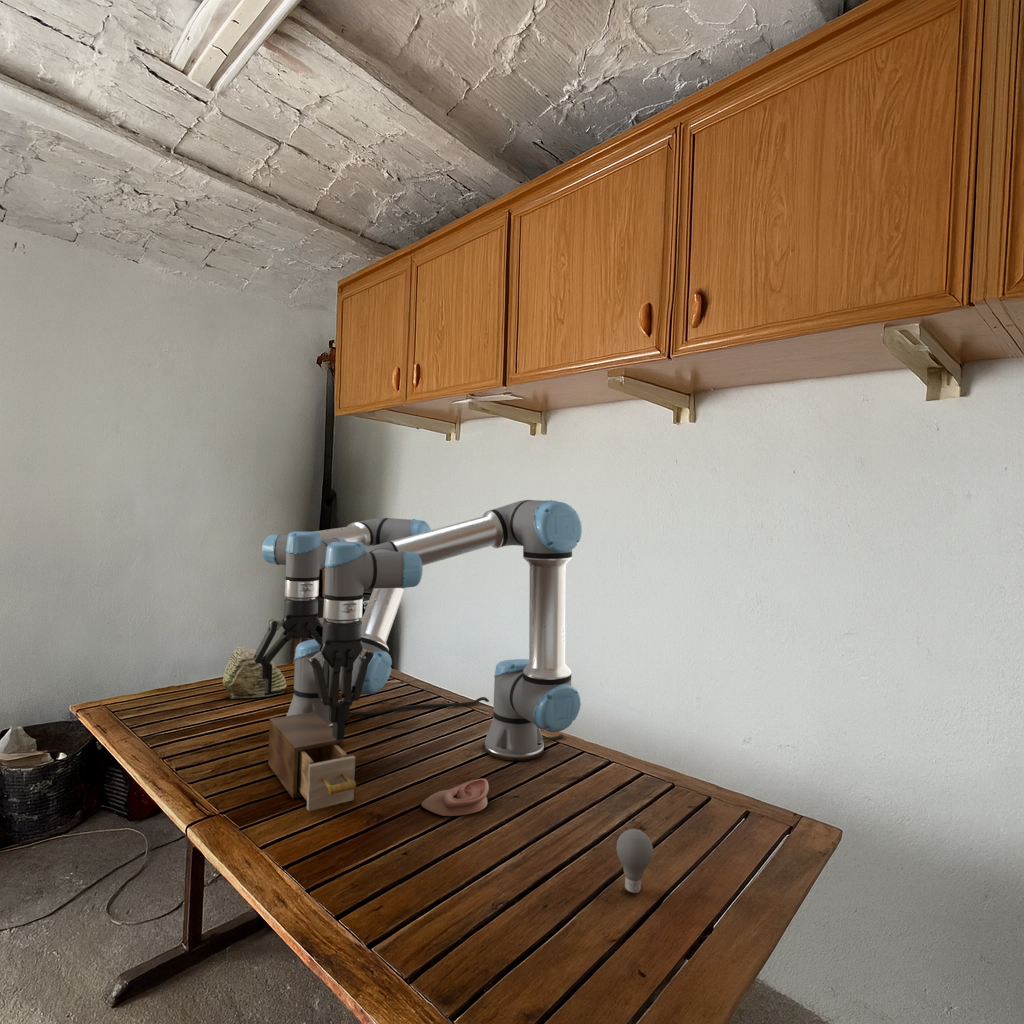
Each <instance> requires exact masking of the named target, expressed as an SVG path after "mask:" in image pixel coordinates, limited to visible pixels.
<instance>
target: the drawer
mask: <svg viewBox="0 0 1024 1024" xmlns="http://www.w3.org/2000/svg"><path fill="white" fill-rule="evenodd" d="M355 775H356V756H354V755H349V756H348V754H347V752H346V751H345V750H344V749H343V750H342V749H341V748H340V747H339V746H338V745H337V744H333V745H327V746H322V747H317V748H312V749H306V750H301V751H298V775H297V789H298V790H299V792H300V793H301V794H302V797H303V799H304V800H305V801H306V810H307V811H308V812H311V811H314V810H319V809H323V808H327V807H330V806H335V805H339V804H342V803H347V802H351V801H354V800H355V798H354V797H355V789H356V788H357V782H356V780H355Z"/></svg>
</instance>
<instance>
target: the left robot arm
mask: <svg viewBox="0 0 1024 1024" xmlns="http://www.w3.org/2000/svg"><path fill="white" fill-rule="evenodd" d="M430 530H432V528H431V527H430V525H429V524H428V522H426V521H425V520H420V519H416V518H412V519H409V518H408V519H407V518H390V517H377V518H371V519H365V520H360V521H354V522H351V523H349V524H347V526H343V527H337V528H329V529H323V530H316V531H290V532H289V533H288V534H280V533H279V534H270V535H268V536H267V537H266V538H264V541H263V543H262V546H261V555H262V558H263V560H264V561H265V562H266V563H269V564H271V565H272V564H274V565H277V566H280V565H281V566H282V565H283V566H285V578H284V579H285V580H284V597H286V598H285V599H284V601H283V602H284V603H283V605H284V606H283V619H282V620H274V619H273V618H272V619H270V620H269V622H268V626H267V630H266V632H265V634H264V636H263V638H262V640H261V642H260V643H259V645H258V649H257V648H256V649H257V651H256V653H255V655H254V656H253V660H254V661H255V662H256V663H260V664H261V677H262V678H263V679H265V692H266V693H267V694H271V689H272V664H271V663H270V662H271V660H273V659H274V658H275V657H276V656H277V655H278V653H279V652H280V651H281V650H282V649H283V648H284V646H285V645H287V643H288V642H289V641H290V640H291V639H294V640H297V639H307V640H304V641H302V642H299V643H298V644H297V645H296V647H295V652H294V653H295V654H294V658H293V660H294V670H293V671H294V672H293V695H292V696H293V697H292V699H291V702H290V704H289V708H288V711H287V713H286V715H285V716H290V715H297V714H303V713H309V712H315V713H316V714H317V715H319V716H320V717H321V718H322V719H323V720H324V721H325V722H326V723H327V724H328V725H329V726H330V727H331V728H333V723H331V722H330V721H329V719H328V716H329V706H328V705H324V704H323V703H322V702H320V700H319V695H318V691H317V686H316V681H315V676H314V672H313V667H312V666H311V664H310V663H309V661H308V657H309V656H314V655H315V654H317V653H318V652H319V651H320V647H321V645H322V635H320V633H319V632H318V631H317V630H316V629H317V627H318V626H319V625H321V626H322V627H323V622H324V621H325V620H326V619H325V618H324V617H323V616H322V617H319V616H318V615H319V599H318V598H317V597H319V589H320V571H323V570H324V571H325V560H326V550H327V546H328V545H329V544H330V543H331V542H337V541H348V542H361V543H363V544H364V545H378V544H382V543H386V542H390V541H393V540H397V539H401V538H404V537H408V536H412V535H415V534H419V533H423V532H427V531H430ZM405 591H406V588H404V589H402V588H372V591H371V594H370V596H369V600H368V601H367V602H368V603H367V605H366V607H365V610H364V613H363V614H362V617H361V619H360V620H361V622H362V636H361V642H362V644H363V648H364V649H365V650H368V651H370V652H372V653H373V658H372V659H371V661H370V662H369V664H368V668H367V671H366V675H365V679H364V683H363V687H362V691H361V694H360V695H375V694H376V693H378V692H380V691H381V690H382V689H383V688H384V687H385V685H386V684H387V682H388V680H389V678H390V675H391V673H392V667H391V666H392V665H393V660H392V658H391V654H389V653H390V649H389V646H388V644H387V641H388V638H389V636H390V632H391V630H392V627H393V624H394V623H395V622H394V621H395V618H396V616H397V613H398V610H399V609H400V608H399V607H400V604H401V602H402V599H403V596H404V593H405ZM281 627H282V628H283V629H284V630H283V632H282V633H281V634H280V636H279V638H278V639H277V640H276V641H275V642H273V644H272V645H271V643H272V641H273V639H274V637H275V635H276V633H277V631H279V630H280V628H281ZM309 637H312V639H308V638H309ZM270 645H271V647H270ZM269 647H270V648H269ZM268 648H269V649H268ZM265 653H266V654H265ZM264 654H265V655H264ZM359 655H360V654H359ZM359 659H360V658H359V656H358V657H357V659H356V660H355V661H354V663H353V671H352V683H353V679H354V676H355V672H356V668H357V664H358V661H359ZM322 661H323V663H322V664H321V666H322V668H323V672H324V677H325V682H326V687H327V692H328V693H329V664H328V663H327V661H326V660H325V659H324V657H323V658H322ZM341 681H342V668H341V671H340V675H339V691H341ZM473 701H474V702H473ZM481 701H484V702H486V703H489V702H490V700H489V698H488V697H486V696H481V697H479V698H477V699H474V700H472V701H464V702H463V701H462V702H447V703H425V704H424V703H423V704H411V705H409V704H408V705H400V706H394V707H388V708H385V709H384V708H383V709H379V710H374V711H350V712H349V713H350V714H349V716H377V715H381V714H384V713H389V712H394V711H401V710H409V709H422V708H423V709H424V708H447V707H448V708H449V707H461V706H462V707H464V706H473V705H476V704H478V703H480V702H481ZM340 702H341V701H340V699H338V703H340Z"/></svg>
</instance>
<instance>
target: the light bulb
mask: <svg viewBox="0 0 1024 1024" xmlns="http://www.w3.org/2000/svg"><path fill="white" fill-rule="evenodd" d="M615 849H616V854H617V857H618V859H619V861H620V863H621V865H622V867H623V873H624V874H623V875H624V876H625V878H624V888H625V890H627V891H628V892H630V893H634V894H635V893H639V892H640V891H641V889H642V887H641V886H642V879H643V877H644V875H645V871H646V868H647V867H648V866H649V864H650V863H651V861H652V859H653V855H654V847H653V843H652V841H651V838H649V836H648V835H647V834H646V833H645V832H643V831H642V830H641V829H636V828H629V829H627V830H625V831H623V832H622V833H621V834H620V835H619V837H618V839H617V841H616V847H615Z"/></svg>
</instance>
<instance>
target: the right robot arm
mask: <svg viewBox="0 0 1024 1024" xmlns="http://www.w3.org/2000/svg"><path fill="white" fill-rule="evenodd" d="M582 534H583V525H582V521H581V517H580V515H579V514H578V512H577V511H576V510H575V509H574V508H573V507H572V506H571V505H570V504H568V503H566V502H563V501H558V500H554V499H549V500H541V499H540V500H539V499H538V500H537V499H536V500H535V499H523V500H519V501H516V502H515V501H514V502H512V503H509V504H506V505H502V506H499V507H496V508H494V509H490V510H486V511H485V512H484V513H483V514H482V516H479V517H476V518H471V519H469V520H465V521H461V522H457V523H453V524H449V525H445V526H442V527H439V528H435V529H431V530H430V531H427V532H423V533H419V534H415V535H412V536H408V537H404V538H401V539H397V540H393V541H390V542H386V543H382V544H378V545H364V544H363V543H361V542H348V541H337V542H331V543H330V544H329V545H328V546H327V550H326V560H325V569H324V593H323V594H324V596H323V611H322V618H323V617H324V618H325V619H326V620H325V621H324V622H323V626H322V635H321V638H322V645H321V647H320V651H319V652H318V653H317V654H315V655H314V656H309V657H308V661H309V663H310V664H311V666H312V667H313V672H314V676H315V681H316V686H317V691H318V695H319V700H320V702H322V703H323V704H324V705H328V706H329V716H328V719H329V721H330V722H331V723H333V728H332V736H333V737H334V738H335V739H336V740H341V739H345V731H346V729H345V728H346V727H345V726H346V721H349V720H350V715H349V714H350V713H349V712H351V711H350V709H351V706H352V705H353V702H355V701H359V700H360V698H361V695H362V694H361V691H362V687H363V683H364V679H365V675H366V671H367V668H368V664H369V662H370V661H371V659H372V658H373V653H372V652H370V651H368V650H365V649H364V648H363V644H362V642H361V636H362V622H361V620H362V618H363V605H364V590H373V589H374V588H402V589H404V588H405V589H407V588H415V587H417V586H418V585H419V584H420V583H421V581H422V579H423V568H424V567H423V566H426V565H430V564H434V563H437V562H441V561H445V560H447V559H451V558H454V557H458V556H461V555H464V554H467V553H471V552H475V551H478V550H481V549H484V548H489V547H492V548H493V549H499V548H503V547H510V546H519V547H520V546H521V547H522V550H523V551H522V558H523V559H524V560H525V561H526V562H527V564H528V565H529V600H528V601H529V609H528V610H529V614H528V615H529V616H528V617H529V621H528V623H529V624H528V626H529V629H528V631H529V633H528V635H529V637H528V639H529V640H528V641H529V642H528V643H529V644H528V651H529V652H528V658H527V659H526V658H514V659H505V660H501V661H499V662H498V663H497V664H496V665H495V669H494V676H493V678H494V683H493V686H494V687H493V688H494V689H493V708H492V709H493V710H492V711H493V713H492V720H491V723H490V726H489V729H488V731H487V734H486V737H485V740H484V750H485V752H486V753H487V754H488V755H490V756H492V757H493V758H496V759H500V760H503V761H510V762H522V761H531V760H534V759H537V758H539V757H540V756H542V755H543V754H544V752H545V743H544V741H555V740H558V739H562V738H564V734H559V735H556V736H543V735H542V731H541V730H544V731H547V732H549V733H558V732H563V731H564V730H566V729H568V728H569V727H570V726H571V725H572V724H573V722H574V721H575V720H576V719H577V718H578V716H579V713H580V711H581V706H582V699H581V695H580V693H579V691H577V689H576V687H575V686H573V685H572V670H571V668H569V667H568V665H567V664H566V590H567V589H566V585H567V584H566V577H567V576H566V575H567V574H566V570H567V569H566V568H567V567H566V566H567V564H568V563H569V562H570V561H571V560H572V559H573V550H574V549H575V548H576V547H577V546H578V543H580V541H581V539H582ZM359 654H360V655H359ZM358 656H359V658H360V659H359V661H358V664H357V668H356V672H355V676H354V679H353V683H352V671H353V663H354V661H355V660H356V659H357V657H358ZM323 657H324V659H325V660H326V661H327V663H328V664H329V693H328V692H327V687H326V682H325V677H324V672H323V668H322V666H321V664H322V663H323V661H322V658H323ZM341 668H342V681H341V690H339V675H340V671H341ZM339 696H340V697H339ZM339 698H340V699H339ZM338 699H339V700H340V701H339V702H340V703H338Z"/></svg>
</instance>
